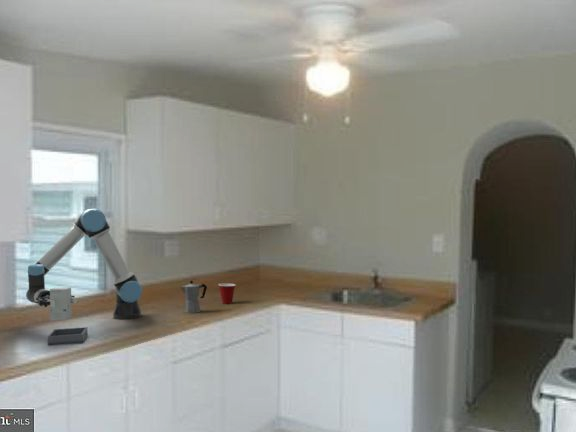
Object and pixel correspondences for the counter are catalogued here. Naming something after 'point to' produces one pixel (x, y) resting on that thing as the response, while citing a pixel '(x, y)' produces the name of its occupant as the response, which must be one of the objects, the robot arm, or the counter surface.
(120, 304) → the robot arm
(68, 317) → the skincare box
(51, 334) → the bin
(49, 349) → the counter surface
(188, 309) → the coffeepot
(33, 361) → the counter surface
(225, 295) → the plastic cup
